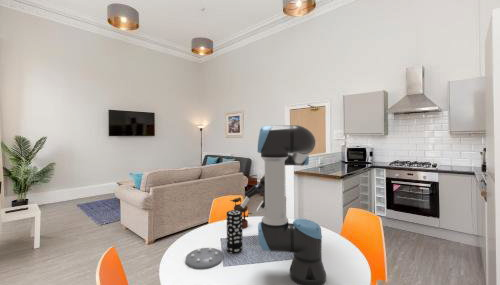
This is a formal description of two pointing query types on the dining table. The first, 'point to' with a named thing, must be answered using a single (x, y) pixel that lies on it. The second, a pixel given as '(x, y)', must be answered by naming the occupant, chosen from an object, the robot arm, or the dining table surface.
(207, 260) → the stub plate
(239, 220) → the white-spotted black cylinder
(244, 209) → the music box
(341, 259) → the dining table surface
